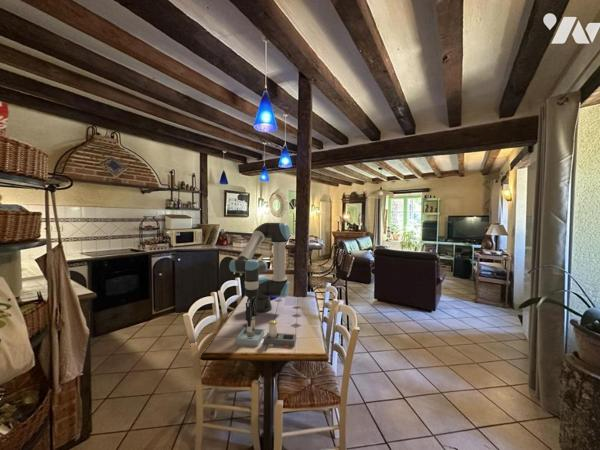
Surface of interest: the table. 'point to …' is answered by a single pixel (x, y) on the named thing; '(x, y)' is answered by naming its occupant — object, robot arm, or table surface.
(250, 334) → the fuse
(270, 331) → the fuse
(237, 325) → the table surface
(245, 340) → the parts tray
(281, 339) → the fuse block
